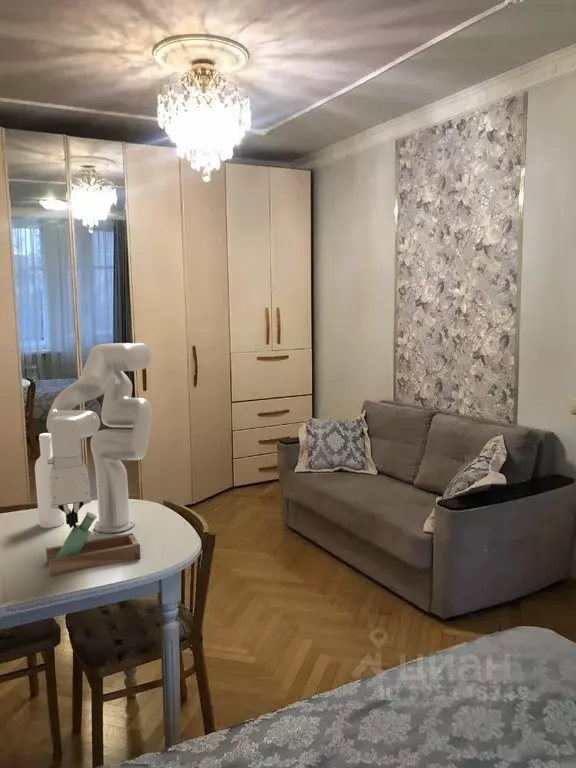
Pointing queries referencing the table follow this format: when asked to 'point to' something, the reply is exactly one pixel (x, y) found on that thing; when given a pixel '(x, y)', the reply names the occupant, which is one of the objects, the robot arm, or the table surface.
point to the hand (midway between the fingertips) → (72, 525)
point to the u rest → (95, 554)
